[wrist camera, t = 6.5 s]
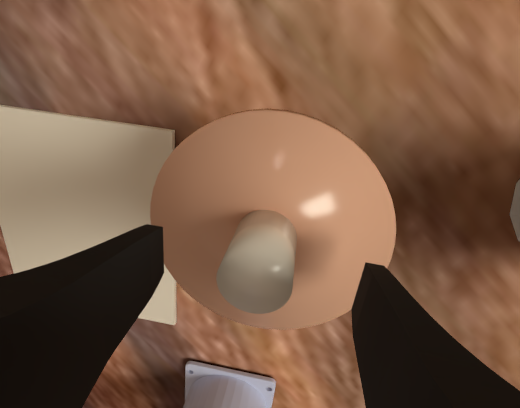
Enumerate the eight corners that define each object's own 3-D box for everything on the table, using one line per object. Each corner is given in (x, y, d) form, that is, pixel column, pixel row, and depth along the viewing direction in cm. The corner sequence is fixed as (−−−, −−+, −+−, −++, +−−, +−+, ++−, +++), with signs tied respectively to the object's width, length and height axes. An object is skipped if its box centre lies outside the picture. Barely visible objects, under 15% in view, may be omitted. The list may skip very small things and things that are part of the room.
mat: (176, 321, 26) (174, 325, 26) (23, 290, 28) (19, 293, 27) (174, 129, 20) (172, 131, 19) (-29, 100, 21) (-35, 101, 21)
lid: (358, 338, 15) (370, 413, 12) (159, 298, 16) (120, 357, 13) (429, 130, 11) (477, 159, 8) (153, 91, 12) (91, 103, 9)
